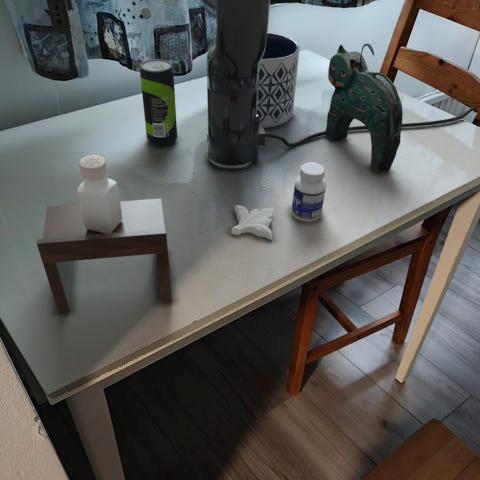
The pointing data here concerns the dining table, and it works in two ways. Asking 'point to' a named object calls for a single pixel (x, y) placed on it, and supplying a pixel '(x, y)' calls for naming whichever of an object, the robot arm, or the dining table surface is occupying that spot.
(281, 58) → the planter
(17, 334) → the dining table surface
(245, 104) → the robot arm
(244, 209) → the acanthus leaf ornament
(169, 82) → the beverage can
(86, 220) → the salt shaker
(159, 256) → the wooden table
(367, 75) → the ceramic cat
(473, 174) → the dining table surface
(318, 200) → the pill bottle
